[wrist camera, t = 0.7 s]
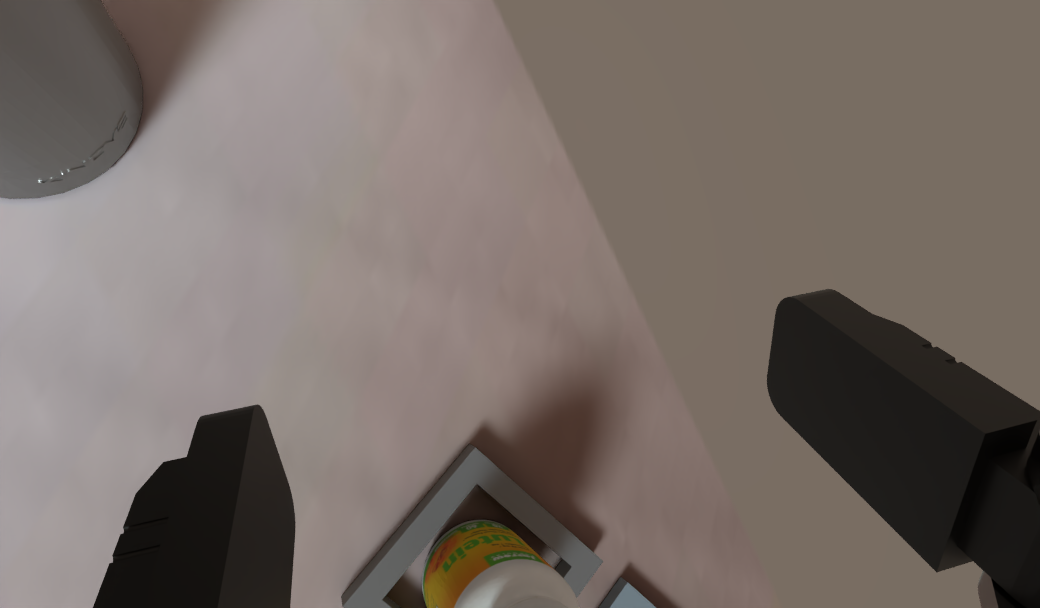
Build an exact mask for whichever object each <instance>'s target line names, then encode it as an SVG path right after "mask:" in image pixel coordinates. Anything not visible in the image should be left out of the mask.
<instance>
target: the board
mask: <svg viewBox="0 0 1040 608" xmlns="http://www.w3.org/2000/svg"><path fill="white" fill-rule="evenodd" d="M599 608H656V607H655V606H654V605H653V604H652V603H650V602H649V601H648V600H647V599H646V598H645V597H644V596H643V595H641V594H640V593H639V592H638V591H637V590H636V589H635V588H634V587H632V586H631V585H630V584H629V583H628V582H627V581H625V580H624V579H623V578H621V577H620V578H619V580H618V581H617V583H616V584H615V585H614V587H613V588H612V590H611V591H610V592H609V594H608V595H607V597H606V598H605V599H604V601H603V602H602V604H601V605H600V606H599Z"/></svg>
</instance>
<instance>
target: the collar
mask: <svg viewBox="0 0 1040 608" xmlns="http://www.w3.org/2000/svg"><path fill="white" fill-rule="evenodd" d="M476 484H478V485H479V486H480V487H481V488H482V489H483V490H485V491H486V492H487V493H488V494H489V495H490V496H491V497H493V498H494V499H495V500H496V501H497V502H498V503H499V504H501V505H502V506H503V507H504V508H505V509H506V510H507V511H509V512H510V513H511V514H512V515H513V516H514V517H515V518H517V519H518V520H519V521H520V522H521V523H522V524H523V525H525V526H526V527H527V528H528V529H529V530H530V531H531V532H533V533H534V534H535V535H536V536H537V537H538V538H539V539H541V540H542V541H543V542H544V543H545V544H546V545H547V546H549V547H550V548H551V549H552V550H553V551H554V552H555V553H556V554H558V555H559V556H560V557H561V558H562V561H561V562H560V563H559V565H558V566H557V567H556V569H555V570H556V571H557V572H558V573H559V574H560V575H561V576H562V577H563V578H564V580H565V581H566V582H567V583H568V584H569V586H570V587H571V589H572V590H573V592H574V594H575V596H576V598H577V597H578V595H579V594H580V593H581V591H582V590H583V589H584V587H585V586H586V584H587V583H588V582H589V580H590V579H591V578H592V576H593V575H594V573H595V572H596V571H597V569H598V568H599V566H600V565H601V564H602V562H603V561H602V560H601V559H600V558H599V557H598V556H597V555H596V554H595V553H593V552H592V551H591V550H590V549H589V548H588V547H587V546H586V545H584V544H583V543H582V542H581V541H580V540H579V539H578V538H577V537H575V536H574V535H573V534H572V533H571V532H570V531H569V530H568V529H566V528H565V527H564V526H563V525H562V524H561V523H560V522H559V521H557V520H556V519H555V518H554V517H553V516H552V515H551V514H550V513H549V512H547V511H546V510H545V509H544V508H543V507H542V506H541V505H540V504H538V503H537V502H536V501H535V500H534V499H533V498H532V497H531V496H529V495H528V494H527V493H526V492H525V491H524V490H523V489H522V488H520V487H519V486H518V485H517V484H516V483H515V482H514V481H513V480H511V479H510V478H509V477H508V476H507V475H506V474H505V473H504V472H503V471H501V470H500V469H499V468H498V467H497V466H496V465H495V464H494V463H492V462H491V461H490V460H489V459H488V458H487V457H486V456H485V455H483V454H482V453H481V452H480V451H479V450H478V449H477V448H476V447H474V446H472V445H471V444H469V445H468V446H467V447H466V448H465V449H464V451H463V452H462V453H461V454H460V455H459V457H458V458H457V459H456V460H455V461H454V463H453V464H452V465H451V466H450V467H449V468H448V470H447V471H446V472H445V473H444V474H443V476H442V477H441V478H440V479H439V480H438V482H437V483H436V484H435V485H434V486H433V488H432V489H431V490H430V491H429V492H428V494H427V495H426V496H425V497H424V498H423V500H422V501H421V502H420V503H419V504H418V506H417V507H416V508H415V509H414V510H413V511H412V513H411V514H410V515H409V516H408V517H407V519H406V520H405V521H404V522H403V523H402V525H401V526H400V527H399V528H398V529H397V531H396V532H395V533H394V534H393V535H392V537H391V538H390V539H389V540H388V541H387V543H386V544H385V545H384V546H383V547H382V549H381V550H380V551H379V552H378V553H377V554H376V556H375V557H374V558H373V559H372V560H371V562H370V563H369V564H368V565H367V566H366V568H365V569H364V570H363V571H362V572H361V574H360V575H359V576H358V577H357V578H356V580H355V581H354V582H353V583H352V584H351V586H350V587H349V588H348V589H347V590H346V591H345V593H344V594H343V595H342V596H341V598H342V606H343V607H344V608H401V607H400V606H398V605H397V604H396V603H395V602H393V601H392V600H391V599H390V598H388V597H387V596H386V594H387V593H388V592H389V591H390V589H391V588H392V587H393V586H394V585H395V583H396V582H397V581H398V580H399V578H400V577H401V576H402V575H403V574H404V572H405V571H406V570H407V569H408V567H409V566H410V565H411V564H412V562H413V561H414V560H415V559H416V558H417V556H418V555H419V554H420V553H421V551H422V550H423V549H424V548H425V547H426V545H427V544H428V543H429V542H430V540H431V539H432V538H433V537H434V536H435V534H436V533H437V532H438V531H439V529H440V528H441V527H442V526H443V525H444V523H445V522H446V521H447V520H448V518H449V517H450V516H451V515H452V514H453V512H454V511H455V510H456V509H457V507H458V506H459V505H460V504H461V503H462V501H463V500H464V499H465V498H466V496H467V495H468V494H469V493H470V491H471V490H472V489H473V488H474V487H475V485H476Z"/></svg>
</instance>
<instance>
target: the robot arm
mask: <svg viewBox="0 0 1040 608" xmlns="http://www.w3.org/2000/svg"><path fill="white" fill-rule="evenodd" d="M142 101H143V88H142V83H141V79H140V74H139V69H138V66H137V64H136V62H135V60H134V58H133V55H132V53H131V51H130V49H129V47H128V45H127V43H126V42H125V40H124V38H123V37H122V35H121V34H120V32H119V30H118V29H117V27H116V25H115V24H114V22H113V20H112V19H111V17H110V15H109V14H108V12H107V10H106V9H105V7H104V5H103V3H102V1H101V0H0V197H1V198H8V199H21V198H41V197H46V196H51V195H56V194H60V193H65V192H67V191H70V190H72V189H75V188H77V187H80V186H82V185H84V184H87V183H89V182H90V181H92V180H93V179H95V178H96V177H98V176H99V175H101V174H102V173H104V172H105V171H107V170H108V169H109V168H110V167H111V166H112V165H113V164H114V163H115V162H116V161H117V160H118V159H119V158H120V157H121V156H122V155H123V154H124V153H125V151H126V149H127V148H128V146H129V144H130V142H131V141H132V139H133V137H134V136H135V134H136V131H137V128H138V124H139V121H140V117H141V114H142ZM767 387H768V392H769V396H770V399H771V401H772V403H773V405H774V407H775V409H776V411H777V412H778V413H779V414H780V416H782V417H783V419H784V420H785V421H786V422H787V423H788V424H789V425H790V426H791V427H792V428H793V429H794V430H795V431H796V432H797V433H798V434H799V435H800V436H801V437H803V439H804V440H805V441H806V442H807V443H808V444H809V445H810V446H811V447H812V448H813V449H814V450H815V451H816V452H817V453H818V454H819V455H820V456H821V457H822V458H823V459H824V460H825V461H826V462H827V463H828V464H829V465H830V466H831V467H832V468H833V469H834V470H835V471H836V472H837V473H838V474H839V475H840V476H841V477H842V478H843V479H844V480H845V481H846V482H847V483H848V484H849V485H850V486H851V487H852V488H853V489H854V490H855V491H856V492H857V493H858V494H859V495H860V496H861V497H862V498H863V499H864V500H865V501H866V502H867V503H868V504H869V505H870V506H871V507H872V508H873V509H874V510H875V511H876V512H877V513H878V514H879V515H880V516H881V517H882V518H883V519H884V520H885V521H886V522H887V523H888V524H889V525H890V526H891V527H892V528H893V529H894V530H895V531H896V532H897V533H898V534H899V535H900V536H901V537H902V538H903V539H904V540H905V541H906V542H907V543H908V544H909V545H910V546H911V547H912V548H913V549H914V550H915V551H916V552H917V553H918V554H919V555H920V556H921V557H922V558H923V559H924V560H925V561H926V562H927V563H928V564H929V565H930V566H931V567H932V568H933V569H934V570H935V571H936V572H939V571H942V570H945V569H949V568H952V567H955V566H958V565H962V564H965V563H968V562H972V561H974V562H975V563H976V564H977V565H978V566H979V567H980V568H981V569H982V570H983V572H982V575H981V577H980V580H979V583H978V594H979V599H980V603H981V608H1040V411H1039V410H1037V409H1035V408H1034V407H1032V406H1031V405H1029V404H1028V403H1026V402H1024V401H1023V400H1021V399H1020V398H1018V397H1016V396H1015V395H1013V394H1012V393H1010V392H1009V391H1007V390H1005V389H1003V388H1002V387H1001V386H999V385H997V384H996V383H994V382H993V381H991V380H989V379H988V378H986V377H985V376H983V375H981V374H980V373H978V372H977V371H975V370H973V369H972V368H970V367H969V366H967V365H965V364H964V363H962V362H959V363H957V362H956V361H955V358H954V357H952V356H951V355H949V354H948V353H946V352H945V351H943V350H941V349H940V348H938V347H934V348H933V347H932V345H931V343H930V342H929V341H927V340H926V339H924V338H922V337H921V336H919V335H918V334H916V333H914V332H913V331H911V330H909V329H908V328H907V327H905V326H903V325H901V324H898V323H895V322H893V321H890V320H887V319H885V318H882V317H879V316H876V315H874V314H871V313H870V312H868V311H867V310H865V309H864V308H862V307H861V306H859V305H858V304H856V303H854V302H853V301H851V300H850V299H848V298H847V297H845V296H844V295H842V294H840V293H839V292H837V291H835V290H832V289H826V290H821V291H816V292H811V293H806V294H801V295H797V296H792V297H787V298H784V299H783V300H782V301H781V302H780V303H779V304H778V307H777V309H776V314H775V321H774V329H773V337H772V344H771V351H770V359H769V366H768V374H767ZM123 528H124V533H123V534H121V535H120V537H119V540H118V542H117V545H116V548H115V550H114V553H113V563H110V564H109V566H108V569H107V572H106V574H105V577H104V580H103V582H102V585H101V588H100V590H99V593H98V596H97V598H96V601H95V604H94V606H93V608H290V600H291V586H292V571H293V557H294V542H295V513H294V505H293V499H292V494H291V490H290V487H289V483H288V480H287V477H286V474H285V471H284V468H283V465H282V462H281V459H280V456H279V454H278V451H277V448H276V445H275V442H274V439H273V436H272V433H271V430H270V427H269V424H268V421H267V418H266V415H265V413H264V411H263V409H262V408H261V406H260V405H253V406H248V407H243V408H239V409H234V410H229V411H224V412H219V413H214V414H209V415H204V416H201V417H200V418H199V420H198V422H197V425H196V428H195V431H194V435H193V438H192V441H191V445H190V448H189V451H188V455H187V457H185V458H180V459H176V460H171V461H166V462H163V463H162V464H161V465H160V467H159V468H158V469H157V470H156V471H155V472H154V473H153V475H152V476H151V477H150V478H149V479H148V480H147V482H146V483H145V484H144V485H143V486H142V487H141V488H140V490H139V491H138V492H137V493H136V495H135V497H134V500H133V503H132V505H131V508H130V511H129V513H128V516H127V519H126V521H125V524H124V527H123Z"/></svg>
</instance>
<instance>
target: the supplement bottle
mask: <svg viewBox="0 0 1040 608" xmlns="http://www.w3.org/2000/svg"><path fill="white" fill-rule="evenodd" d="M422 590H423V596H424V600H425V603H426V606H427V608H580V606H579V603H578V600H577V598H576V596H575V594H574V592H573V590H572V589H571V587H570V586H569V584H568V583H567V582H566V581H565V580H564V578H563V577H562V576H561V575H560V574H559V573H558V572H557V571H556V570H554V569H553V568H552V567H551V566H550V565H549V564H548V563H547V562H546V561H545V560H544V559H542V558H541V557H540V556H539V555H538V554H537V553H536V552H535V551H534V550H533V549H532V548H531V547H530V546H528V545H527V544H526V543H525V542H524V541H523V540H522V539H521V538H520V537H519V536H518V535H517V534H516V533H514V532H513V531H512V530H511V529H509V528H508V527H506V526H505V525H503V524H500V523H498V522H495V521H491V520H472V521H467V522H464V523H461V524H459V525H457V526H455V527H453V528H452V529H450V530H449V531H447V532H446V533H445V534H444V535H443V536H442V537H441V538H440V539H439V540H438V541H437V542H436V543H435V545H434V546H433V548H432V549H431V551H430V553H429V555H428V557H427V559H426V562H425V565H424V569H423V575H422Z"/></svg>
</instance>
